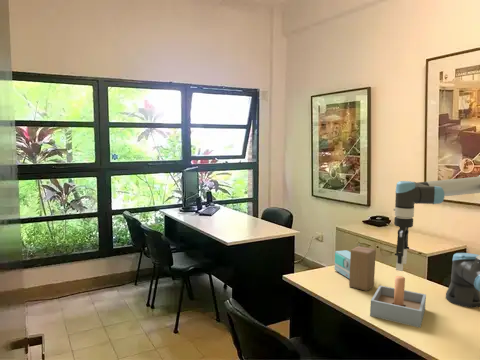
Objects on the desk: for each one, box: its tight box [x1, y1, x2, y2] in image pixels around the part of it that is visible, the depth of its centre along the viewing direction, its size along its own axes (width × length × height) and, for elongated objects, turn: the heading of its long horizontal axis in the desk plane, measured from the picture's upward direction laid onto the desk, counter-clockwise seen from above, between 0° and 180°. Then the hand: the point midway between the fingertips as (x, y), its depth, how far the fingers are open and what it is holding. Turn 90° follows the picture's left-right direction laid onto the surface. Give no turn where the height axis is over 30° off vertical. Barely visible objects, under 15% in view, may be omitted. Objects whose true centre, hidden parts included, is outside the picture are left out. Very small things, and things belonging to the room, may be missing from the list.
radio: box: [334, 243, 361, 280], centre depth 216 cm, size 16×9×20 cm, turn 17°
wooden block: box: [348, 245, 377, 292], centre depth 199 cm, size 10×10×20 cm
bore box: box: [369, 285, 427, 328], centre depth 171 cm, size 20×20×7 cm
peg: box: [394, 275, 406, 306], centre depth 170 cm, size 4×4×16 cm
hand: (401, 266), depth 169 cm, fingers open, 10 cm apart
